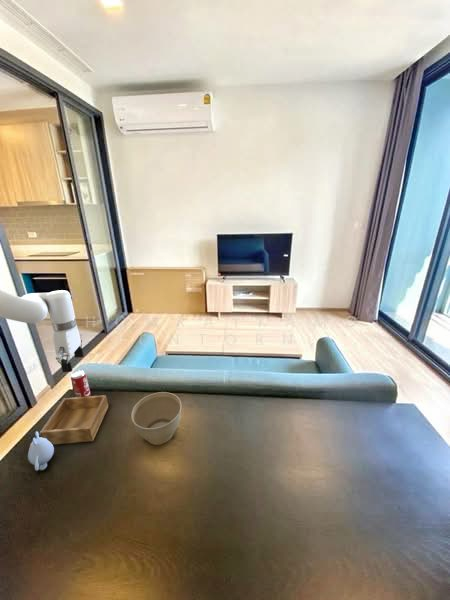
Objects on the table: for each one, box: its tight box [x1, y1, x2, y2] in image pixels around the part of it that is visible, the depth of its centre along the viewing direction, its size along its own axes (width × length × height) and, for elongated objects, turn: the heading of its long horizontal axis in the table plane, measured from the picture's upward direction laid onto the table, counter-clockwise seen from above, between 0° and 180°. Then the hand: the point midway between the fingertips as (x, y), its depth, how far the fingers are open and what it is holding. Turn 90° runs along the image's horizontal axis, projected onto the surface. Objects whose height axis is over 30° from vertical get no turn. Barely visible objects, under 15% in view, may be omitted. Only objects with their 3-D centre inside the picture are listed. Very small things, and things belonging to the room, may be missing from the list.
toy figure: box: [27, 431, 55, 472], centre depth 74 cm, size 11×6×12 cm, turn 21°
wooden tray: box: [39, 394, 109, 446], centre depth 90 cm, size 16×16×6 cm
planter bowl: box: [130, 391, 182, 446], centre depth 85 cm, size 16×16×11 cm
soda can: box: [70, 369, 92, 397], centre depth 101 cm, size 5×5×12 cm
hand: (73, 363), depth 97 cm, fingers open, 9 cm apart
